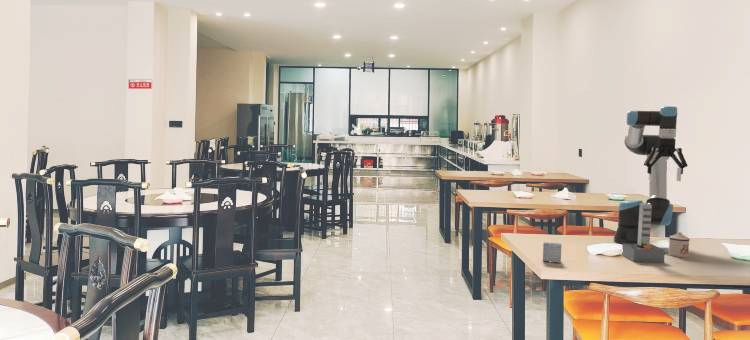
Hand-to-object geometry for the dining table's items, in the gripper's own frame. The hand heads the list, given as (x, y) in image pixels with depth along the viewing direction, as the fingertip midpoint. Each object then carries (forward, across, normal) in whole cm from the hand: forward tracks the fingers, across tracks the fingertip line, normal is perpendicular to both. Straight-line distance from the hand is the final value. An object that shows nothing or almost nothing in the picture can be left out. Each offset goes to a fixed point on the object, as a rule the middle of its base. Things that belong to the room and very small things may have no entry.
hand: (664, 180), depth 292 cm
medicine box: (+37, -61, -27) cm, 76 cm away
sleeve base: (+36, -15, -15) cm, 42 cm away
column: (+30, -15, -15) cm, 37 cm away
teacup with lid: (+37, +8, -3) cm, 38 cm away
